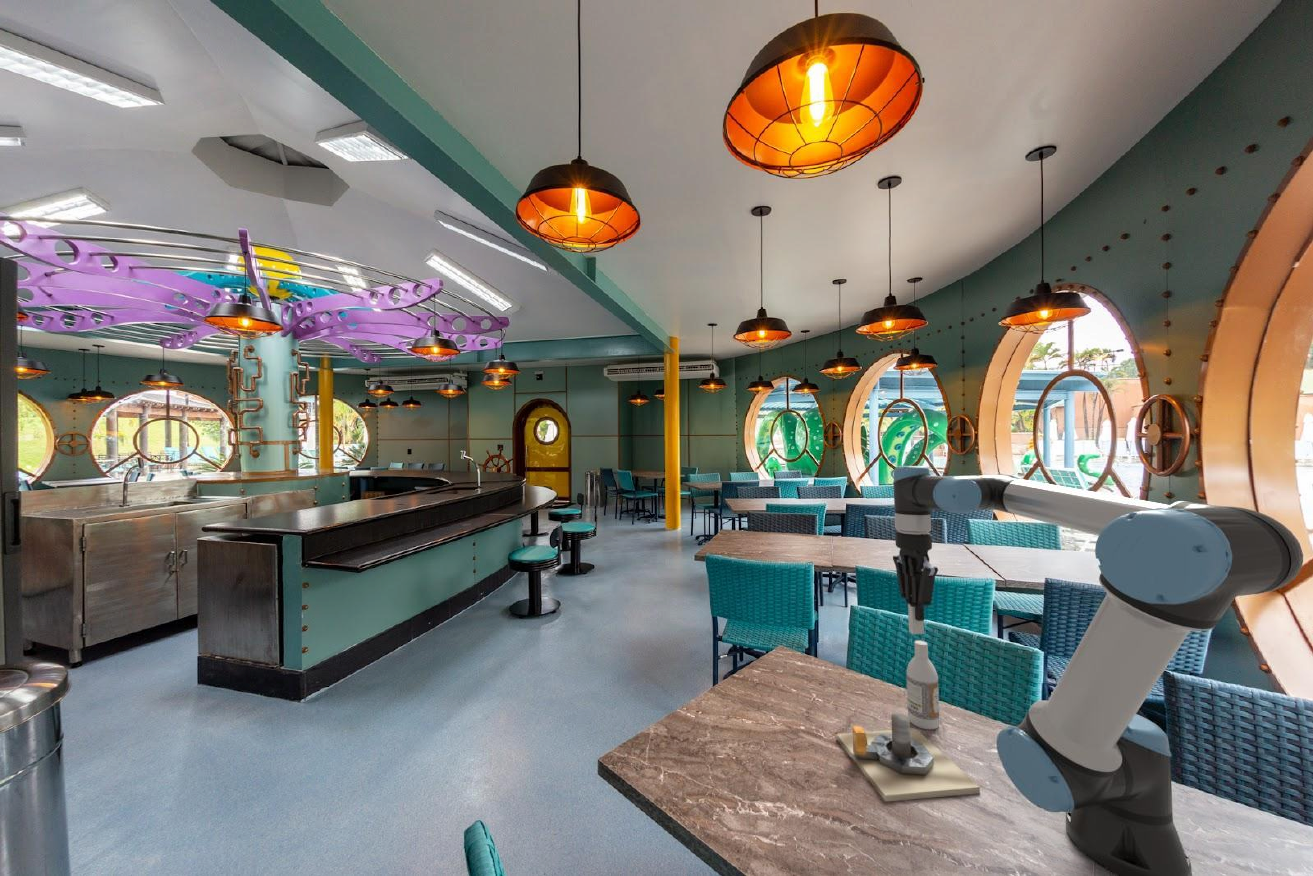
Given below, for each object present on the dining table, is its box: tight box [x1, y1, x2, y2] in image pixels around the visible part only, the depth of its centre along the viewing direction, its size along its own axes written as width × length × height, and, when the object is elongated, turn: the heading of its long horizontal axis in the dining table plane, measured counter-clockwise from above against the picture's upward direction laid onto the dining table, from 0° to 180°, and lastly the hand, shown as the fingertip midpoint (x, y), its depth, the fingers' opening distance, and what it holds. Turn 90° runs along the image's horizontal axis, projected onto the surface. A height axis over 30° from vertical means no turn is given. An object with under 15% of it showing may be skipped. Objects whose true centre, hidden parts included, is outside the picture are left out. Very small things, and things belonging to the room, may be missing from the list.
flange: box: [852, 726, 934, 775], centre depth 102 cm, size 16×11×6 cm
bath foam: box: [906, 640, 940, 730], centre depth 118 cm, size 7×7×20 cm
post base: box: [836, 712, 981, 803], centre depth 102 cm, size 20×20×10 cm
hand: (916, 632), depth 108 cm, fingers closed
